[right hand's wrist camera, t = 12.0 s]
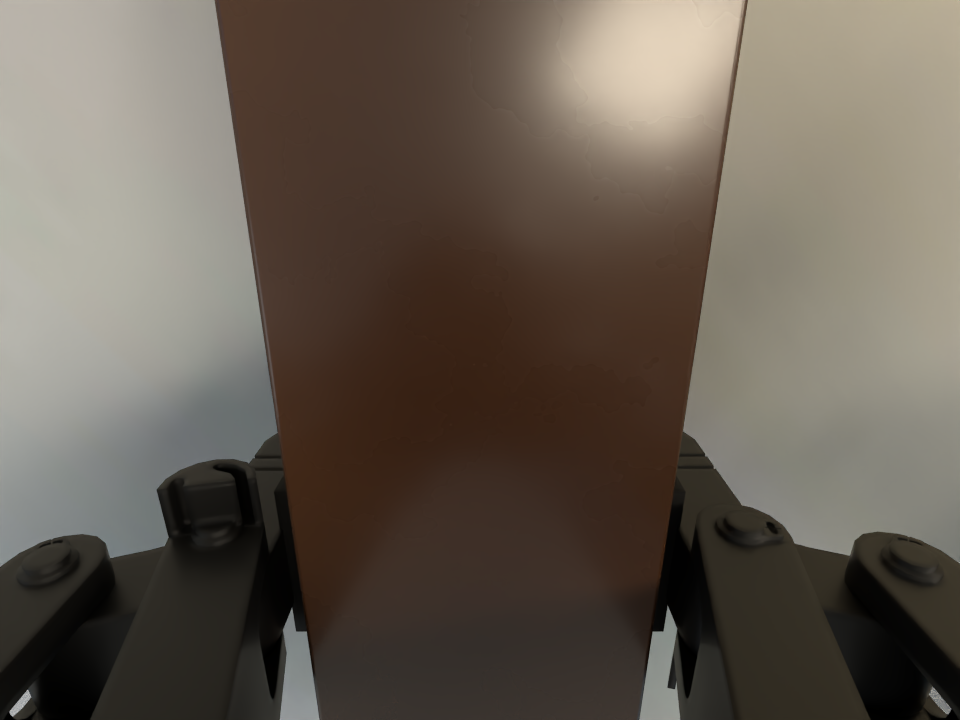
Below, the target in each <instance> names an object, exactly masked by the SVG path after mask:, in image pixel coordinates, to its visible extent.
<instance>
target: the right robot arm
mask: <svg viewBox="0 0 960 720" xmlns="http://www.w3.org/2000/svg"><path fill="white" fill-rule="evenodd" d="M157 493H158V497H159V501H160V505H161V509H162V513H163V517H164V521H165V525H166V528H167V532H168V536H169V538H168V540H167V543H166V545H165V546H163V547H160V548H156V549H152V550H148V551H143V552H139V553H134V554H129V555H124V556H119V557H114V558H110V556H109V553H108V550H107V547H106V543H105V542H103V541H102V540H101V539H100V538H98V537H97V536H90V535H84V534H80V535H71V536H63V537H58V538H54V539H52V540H47V541H44V542H41V543H39V544H37V545H36V546H34V547H31V548H29V549H27V550H25V551H23V552H21V553H19V554H18V555H16V556H15V557H13V558H12V559H11V560H9V561H8V562H6V563H5V564H4V565H2V566H1V567H0V720H280V711H281V702H282V692H283V682H284V673H285V663H286V654H287V653H286V646H285V640H284V634H283V628H284V626H285V623H286V621H287V618H288V616H289V613H290V611H291V608H293V614H294V621H295V627H296V631H307V629H306V622H305V615H304V608H303V602H302V595H301V588H300V581H299V574H298V567H297V560H296V554H295V547H294V540H293V533H292V526H291V519H290V512H289V506H288V499H287V492H286V485H285V478H284V471H283V464H282V458H281V451H280V444H279V437H278V433H277V434H275V435H274V436H272V437H271V438H269V439H268V440H266V441H265V442H264V444H263V445H262V446H261V448H260V449H259V451H258V452H257V454H256V455H255V459H252V461H251V462H250V463H249V464H248V463H247V462H243V461H239V460H234V459H222V460H212V461H207V462H202V463H198V464H195V465H192V466H190V467H187V468H185V469H182V470H180V471H178V472H177V473H175V474H173V475H172V476H170V477H169V478H167V479H166V480H165V481H164V482H163V483H162V484H161V485H160V486H159V488H158V489H157ZM667 606H668V607H669V609H670V612H671V614H672V616H673V619H674V621H675V624H676V626H677V634H676V640H675V646H674V652H673V657H672V663H671V669H670V675H669V681H668V688H671V689H675V685H676V681H677V691H678V700H679V710H680V719H681V720H960V564H959V563H958V562H956V561H955V560H954V559H952V558H951V557H949V556H948V555H946V554H945V553H944V552H942V551H941V550H939V549H937V548H934V547H932V546H930V545H928V544H926V543H924V542H923V541H920V540H918V539H915V538H912V537H907V536H905V535H900V534H894V533H885V532H873V533H867V534H863V535H861V536H860V537H859V538H858V539H856V540H855V542H854V545H853V548H852V552H851V555H850V556H847V555H843V554H838V553H833V552H828V551H823V550H818V549H814V548H809V547H805V546H801V545H798V544H794V542H793V539H792V537H791V536H790V534H789V533H788V532H787V530H786V529H785V527H784V526H783V525H782V524H780V523H779V522H778V521H776V520H775V519H773V518H772V517H771V516H769V515H767V514H765V513H763V512H760V511H758V510H756V509H754V508H750V507H746V506H742V505H741V503H740V502H739V501H738V499H737V498H736V496H735V495H734V494H733V492H732V491H731V489H730V488H729V487H728V485H727V484H726V483H725V481H724V480H723V478H722V477H721V476H720V474H719V473H718V471H717V470H716V469H714V466H713V464H712V463H711V462H710V460H709V459H708V457H705V453H704V452H703V450H702V449H701V448H700V446H699V445H698V443H697V442H696V441H695V439H693V438H692V437H690V436H689V435H687V434H686V433H684V432H683V433H682V439H681V446H680V452H679V459H678V466H677V472H676V479H675V486H674V492H673V499H672V505H671V512H670V519H669V525H668V532H667V539H666V545H665V552H664V558H663V565H662V572H661V578H660V585H659V592H658V598H657V605H656V611H655V618H654V625H653V631H664V624H665V618H666V612H667ZM932 686H933V687H934V688H935V690H936V691H937V692H938V693H939V694H940V696H941V697H942V698H943V699H944V700H945V701H946V703H947V704H948V705H949V706H950V707H951V712H950V713H949V714H948V715H947V714H946V713H945V712H943V711H942V710H941V709H940V708H939V707H938V706H937V704H936V703H935V702H934V701H933V699H932V698H931V697H930V696H929V693H930V691H931V689H932ZM27 690H29V692H30V695H31V699H30V700H29V701H28V702H27V703H26V705H25V706H24V707H23V708H22V709H21V710H20V711H19V712H18V713H17V714H16V715H15V716H13V717H12V716H11V715H10V713H9V711H10V710H11V709H12V708H13V706H14V705H15V704H16V703H17V702H18V700H19V699H20V698H21V697H22V696H23V694H24V693H25V692H26V691H27Z"/></svg>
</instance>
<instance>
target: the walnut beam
mask: <svg viewBox="0 0 960 720" xmlns="http://www.w3.org/2000/svg"><path fill="white" fill-rule="evenodd" d="M747 2H748V0H215V5H216V12H217V19H218V26H219V33H220V39H221V46H222V53H223V60H224V67H225V74H226V81H227V87H228V94H229V101H230V108H231V115H232V122H233V129H234V135H235V142H236V149H237V156H238V163H239V170H240V177H241V183H242V190H243V197H244V204H245V211H246V218H247V225H248V231H249V238H250V245H251V252H252V259H253V266H254V273H255V279H256V286H257V293H258V300H259V307H260V314H261V321H262V327H263V334H264V341H265V348H266V355H267V362H268V369H269V375H270V382H271V389H272V396H273V403H274V410H275V416H276V423H277V430H278V437H279V444H280V451H281V458H282V464H283V471H284V478H285V485H286V492H287V499H288V506H289V512H290V519H291V526H292V533H293V540H294V547H295V554H296V560H297V567H298V574H299V581H300V588H301V595H302V602H303V608H304V615H305V622H306V629H307V636H308V643H309V650H310V656H311V663H312V670H313V677H314V684H315V691H316V698H317V704H318V711H319V718H320V720H639V717H640V711H641V704H642V698H643V691H644V684H645V678H646V671H647V664H648V658H649V651H650V645H651V638H652V631H653V625H654V618H655V611H656V605H657V598H658V592H659V585H660V578H661V572H662V565H663V558H664V552H665V545H666V539H667V532H668V525H669V519H670V512H671V505H672V499H673V492H674V486H675V479H676V472H677V466H678V459H679V452H680V446H681V439H682V433H683V426H684V419H685V413H686V406H687V399H688V393H689V386H690V380H691V373H692V366H693V360H694V353H695V346H696V340H697V333H698V327H699V320H700V313H701V307H702V300H703V293H704V287H705V280H706V274H707V267H708V260H709V254H710V247H711V240H712V234H713V227H714V221H715V214H716V207H717V201H718V194H719V187H720V181H721V174H722V168H723V161H724V154H725V148H726V141H727V134H728V128H729V121H730V114H731V108H732V101H733V95H734V88H735V81H736V75H737V68H738V61H739V55H740V48H741V42H742V35H743V28H744V22H745V15H746V8H747Z"/></svg>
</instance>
